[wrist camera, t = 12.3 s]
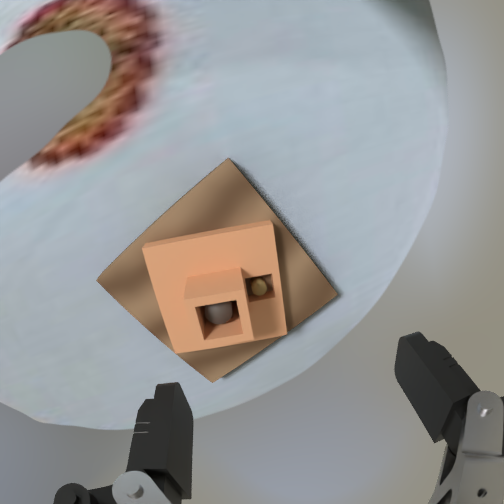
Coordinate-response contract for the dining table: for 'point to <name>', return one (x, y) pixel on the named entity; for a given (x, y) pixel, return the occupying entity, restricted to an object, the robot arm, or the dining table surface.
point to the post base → (291, 276)
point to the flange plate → (217, 285)
